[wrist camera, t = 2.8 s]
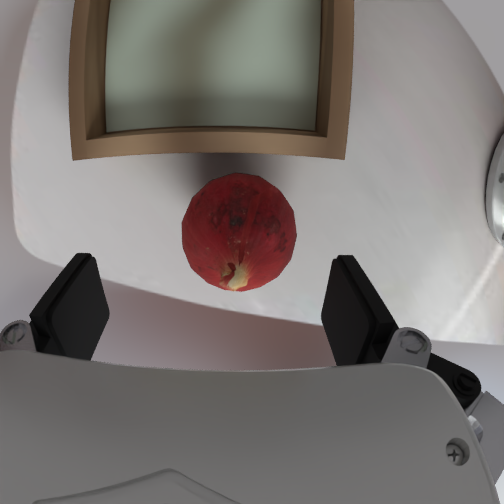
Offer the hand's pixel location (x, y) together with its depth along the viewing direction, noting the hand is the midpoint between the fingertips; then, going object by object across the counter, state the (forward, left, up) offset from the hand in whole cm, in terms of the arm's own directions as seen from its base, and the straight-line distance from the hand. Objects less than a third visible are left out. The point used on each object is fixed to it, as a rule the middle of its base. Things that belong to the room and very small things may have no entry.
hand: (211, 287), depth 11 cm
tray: (+1, -11, -8) cm, 14 cm away
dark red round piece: (-1, 0, -9) cm, 9 cm away
